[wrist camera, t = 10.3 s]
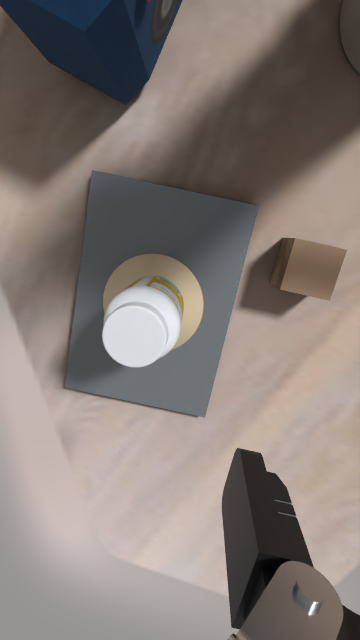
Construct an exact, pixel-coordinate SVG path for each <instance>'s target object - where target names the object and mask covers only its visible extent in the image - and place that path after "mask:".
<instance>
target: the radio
mask: <svg viewBox="0 0 360 640" xmlns="http://www.w3.org/2000/svg"><path fill="white" fill-rule="evenodd" d="M181 3H182V0H0V6H1V7H2V8H3V9H4V10H5V11H6V13H7V14H8V15H9V16H10V17H11V18H12V19H13V21H14V22H15V23H16V24H17V25H18V26H19V28H20V29H21V30H22V31H23V32H24V33H25V35H26V36H27V37H28V38H29V39H30V40H31V41H32V43H33V44H34V45H35V46H36V47H37V48H38V50H39V51H40V52H41V53H42V54H43V55H44V56H45V58H46V59H47V60H48V61H49V62H50V63H52V64H54V65H55V66H57V67H59V68H61V69H63V70H64V71H66V72H68V73H70V74H72V75H73V76H75V77H77V78H79V79H80V80H82V81H84V82H86V83H88V84H89V85H91V86H93V87H95V88H97V89H98V90H100V91H102V92H104V93H106V94H107V95H109V96H111V97H113V98H115V99H116V100H118V101H120V102H122V103H124V104H126V103H127V102H128V101H129V100H130V99H131V98H132V97H133V96H134V95H135V94H136V93H137V92H138V91H139V90H140V89H141V88H142V87H143V85H144V84H145V83H146V82H147V81H148V80H149V79H150V76H151V74H152V71H153V69H154V67H155V64H156V62H157V60H158V57H159V55H160V52H161V50H162V48H163V45H164V43H165V41H166V38H167V36H168V33H169V31H170V29H171V26H172V24H173V22H174V19H175V17H176V14H177V12H178V10H179V7H180V5H181Z"/></svg>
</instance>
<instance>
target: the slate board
mask: <svg viewBox="0 0 360 640" xmlns="http://www.w3.org/2000/svg"><path fill="white" fill-rule="evenodd" d="M257 210H258V205H253V204H248V203H244V202H239V201H234V200H230V199H225V198H220V197H215V196H211V195H206V194H201V193H197V192H192V191H187V190H183V189H178V188H173V187H169V186H164V185H159V184H155V183H150V182H145V181H140V180H136V179H131V178H126V177H122V176H117V175H112V174H108V173H103V172H98V171H94V170H92V174H91V182H90V190H89V198H88V206H87V214H86V222H85V230H84V238H83V246H82V254H81V262H80V270H79V278H78V286H77V294H76V302H75V310H74V318H73V325H72V333H71V341H70V349H69V357H68V365H67V373H66V381H65V388H70V389H74V390H79V391H84V392H88V393H93V394H98V395H102V396H107V397H112V398H116V399H121V400H126V401H131V402H135V403H140V404H145V405H149V406H154V407H159V408H163V409H168V410H173V411H178V412H182V413H187V414H192V415H196V416H201V417H205V415H206V411H207V407H208V403H209V399H210V395H211V391H212V387H213V383H214V379H215V375H216V372H217V368H218V364H219V360H220V356H221V352H222V348H223V344H224V340H225V336H226V332H227V328H228V324H229V320H230V316H231V312H232V309H233V305H234V301H235V297H236V293H237V289H238V285H239V281H240V277H241V273H242V269H243V265H244V261H245V257H246V253H247V250H248V246H249V242H250V238H251V234H252V230H253V226H254V222H255V218H256V214H257ZM145 276H160V277H164V278H166V279H168V280H170V281H171V282H172V283H174V284H175V285H176V286H177V288H178V289H179V291H180V292H181V294H182V297H183V301H184V312H183V318H182V323H181V330H180V334H179V337H178V340H177V342H176V344H175V346H174V347H173V348H172V350H171V351H170V352H169V353H167V354H166V355H165V356H163V357H161V358H159V359H157V360H156V361H155V362H153V363H151V364H149V365H147V366H144V367H137V368H136V367H128V366H124V365H122V364H120V363H118V362H117V361H115V360H114V359H113V358H112V357H111V356H110V355H109V354H108V352H107V351H106V349H105V347H104V344H103V339H102V331H103V326H104V315H105V311H106V309H107V307H108V305H109V303H110V302H111V301H112V299H113V298H114V297H115V296H116V295H117V294H119V293H120V292H121V291H123V290H124V289H126V288H127V287H128V286H130V285H131V284H132V283H133V282H135V281H136V280H138V279H140V278H142V277H145Z"/></svg>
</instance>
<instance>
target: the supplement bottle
mask: <svg viewBox="0 0 360 640" xmlns="http://www.w3.org/2000/svg"><path fill="white" fill-rule="evenodd" d="M183 312H184V301H183V297H182V294H181V292H180V291H179V289H178V288H177V286H176V285H175V284H174V283H172V282H171V281H170V280H168V279H166V278H164V277H160V276H145V277H142V278H140V279H138V280H136V281H135V282H133V283H132V284H131V285H130V286H128V287H127V288H126V289H124V290H123V291H121V292H120V293H119V294H117V295H116V296H115V297H114V298H113V299H112V301H111V302H110V303H109V305H108V307H107V309H106V311H105V315H104V326H103V331H102V339H103V344H104V347H105V349H106V351H107V352H108V354H109V355H110V356H111V357H112V358H113V359H114V360H115V361H117V362H118V363H120V364H122V365H124V366H128V367H136V368H137V367H144V366H147V365H149V364H151V363H153V362H155V361H156V360H157V359H159V358H161V357H163V356H165V355H166V354H167V353H169V352H170V351H171V350H172V348H173V347H174V346H175V344H176V342H177V340H178V337H179V334H180V330H181V323H182V318H183Z"/></svg>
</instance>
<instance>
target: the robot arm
mask: <svg viewBox="0 0 360 640" xmlns="http://www.w3.org/2000/svg"><path fill="white" fill-rule="evenodd" d="M340 34H341V41H342V45H343V48H344V52H345V54H346V56H347V58H348V59H349V61H350V63H351V65H352V66H353V67H354V68H355V69H356V70H357V71H358V73H359V74H360V0H343V4H342V7H341V15H340ZM291 503H292V502H291V499H290V496H289V493H288V490H287V488H286V486H285V485H284V484H283V482H282V481H281V480H280V478H279V477H278V476H277V475H276V474H275V473H271V472H267V471H266V468H265V464H264V460H263V457H262V454H261V453H258V452H254V451H249V450H245V449H240V448H237V449H236V451H235V453H234V457H233V460H232V463H231V467H230V470H229V473H228V476H227V480H226V483H225V486H224V491H223V497H222V516H223V528H224V540H225V553H226V565H227V577H228V590H229V602H230V613H231V626H232V628H237V629H240V630H239V632H238V633H237V634H236V635H235V634H232V635H231V636H230V637H229V638H228V640H360V615H358V614H356V613H354V612H352V611H351V610H349V609H347V608H346V607H345V606H343V605H342V603H341V601H340V598H339V596H338V594H337V592H336V591H335V589H334V587H333V586H332V585H331V583H330V582H329V581H328V580H327V579H326V578H325V577H324V576H323V575H322V574H321V573H320V572H319V571H317V570H316V569H314V567H313V564H312V561H311V558H310V555H309V552H308V549H307V546H306V543H305V540H304V537H303V534H302V532H301V529H300V526H299V523H298V520H297V518H296V514H295V511H294V508H293V505H291Z"/></svg>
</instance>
